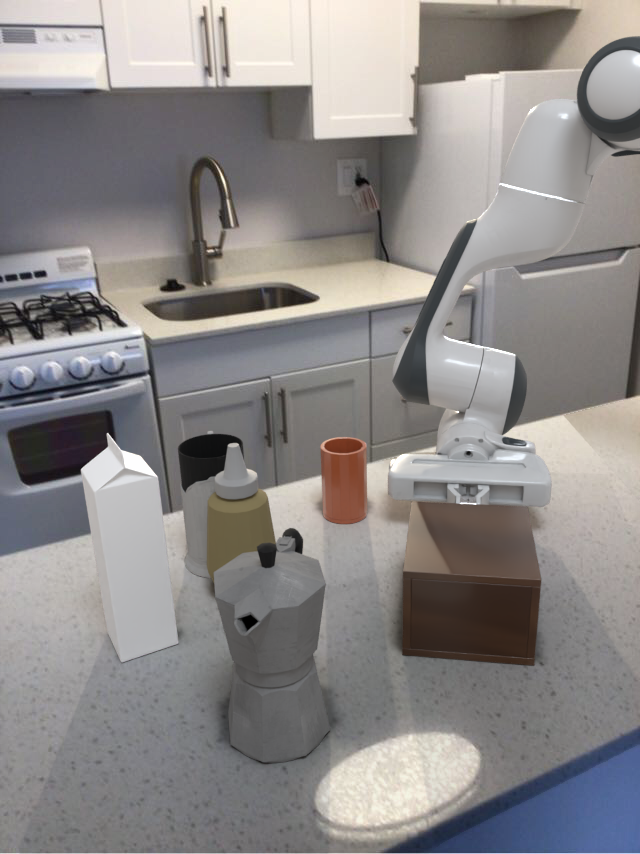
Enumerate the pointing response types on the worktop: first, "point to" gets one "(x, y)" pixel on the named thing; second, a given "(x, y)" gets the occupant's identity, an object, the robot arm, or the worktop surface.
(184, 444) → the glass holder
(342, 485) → the cup
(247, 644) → the coffeepot
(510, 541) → the cabinet
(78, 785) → the worktop surface
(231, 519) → the squeeze bottle
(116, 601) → the milk
